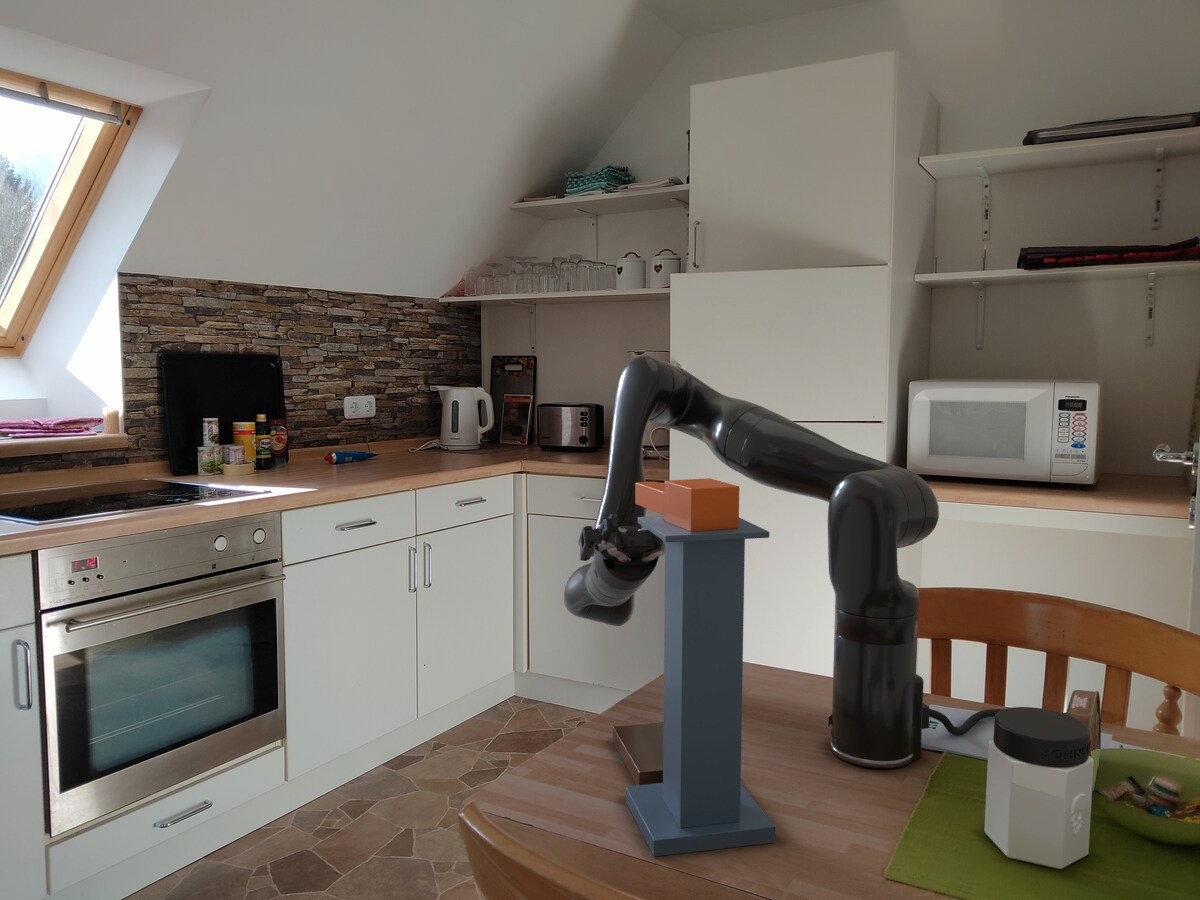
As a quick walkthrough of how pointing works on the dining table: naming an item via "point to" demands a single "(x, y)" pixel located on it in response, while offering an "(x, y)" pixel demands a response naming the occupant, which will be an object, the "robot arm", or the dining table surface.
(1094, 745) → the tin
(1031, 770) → the jar
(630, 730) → the pad
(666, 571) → the stand
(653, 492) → the orange toy mallet
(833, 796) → the dining table surface
